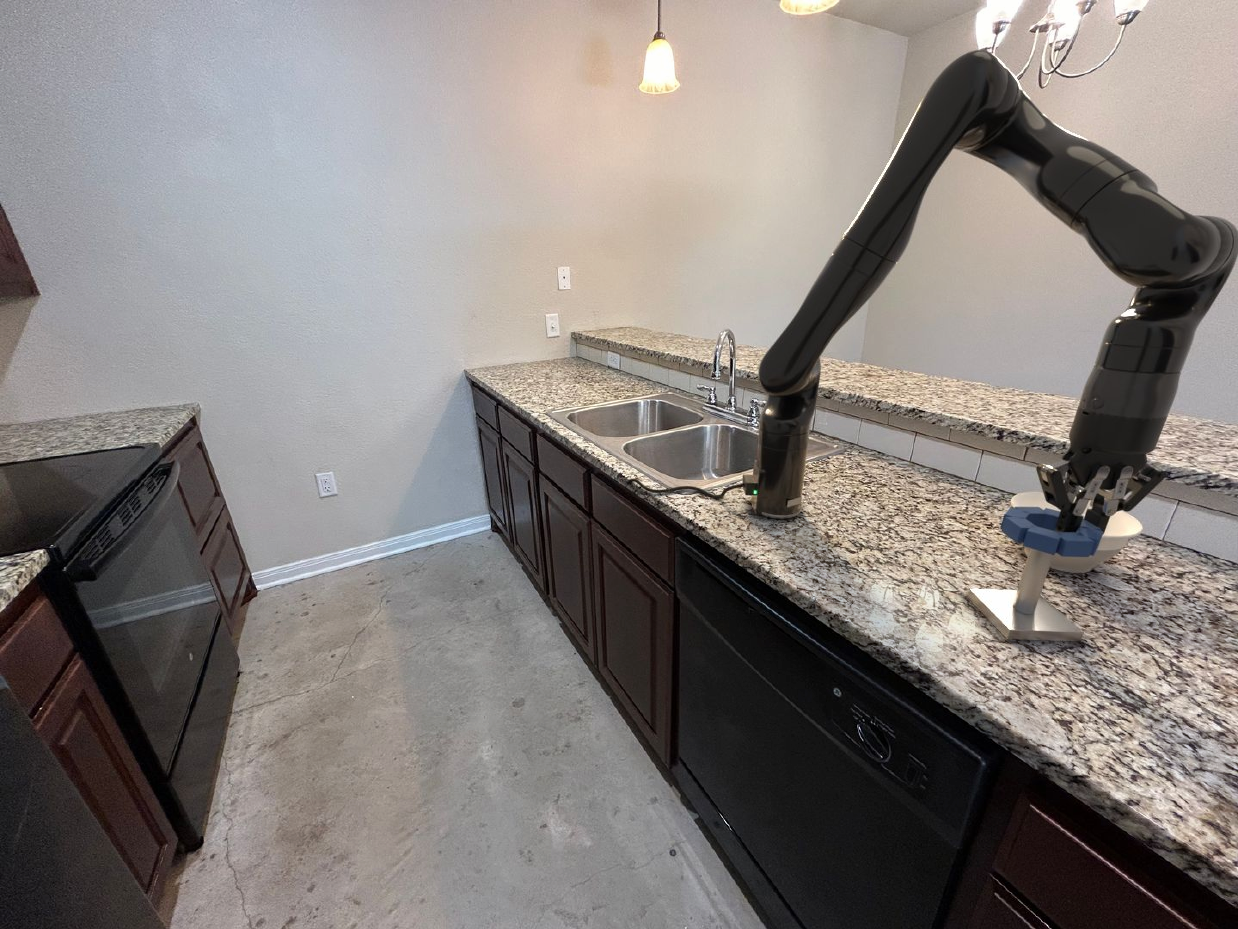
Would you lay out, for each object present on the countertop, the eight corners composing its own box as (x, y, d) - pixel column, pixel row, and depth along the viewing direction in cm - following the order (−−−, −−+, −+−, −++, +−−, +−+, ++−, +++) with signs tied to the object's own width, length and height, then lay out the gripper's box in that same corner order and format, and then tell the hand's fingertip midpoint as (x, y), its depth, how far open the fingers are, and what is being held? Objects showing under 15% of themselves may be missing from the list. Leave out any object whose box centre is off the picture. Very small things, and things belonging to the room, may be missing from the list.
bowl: (1008, 525, 93) (1020, 483, 90) (1126, 557, 82) (1145, 510, 79) (988, 559, 82) (1001, 513, 79) (1120, 600, 72) (1142, 548, 69)
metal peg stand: (1006, 639, 65) (1031, 563, 61) (967, 597, 73) (986, 528, 69) (1080, 641, 64) (1110, 565, 60) (1032, 598, 72) (1055, 529, 68)
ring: (1033, 556, 60) (1038, 540, 59) (986, 520, 69) (990, 506, 68) (1117, 558, 59) (1123, 541, 59) (1058, 521, 68) (1063, 506, 67)
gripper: (1156, 398, 61) (1109, 525, 67) (1036, 399, 62) (1000, 523, 68) (1221, 415, 54) (1162, 554, 60) (1084, 415, 55) (1039, 552, 61)
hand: (1076, 537), depth 64 cm, fingers closed on ring, 2 cm apart
